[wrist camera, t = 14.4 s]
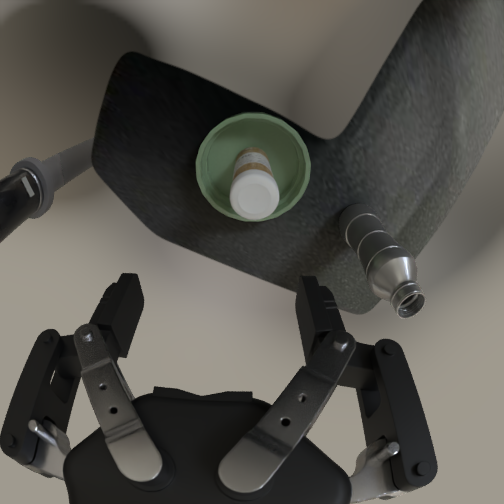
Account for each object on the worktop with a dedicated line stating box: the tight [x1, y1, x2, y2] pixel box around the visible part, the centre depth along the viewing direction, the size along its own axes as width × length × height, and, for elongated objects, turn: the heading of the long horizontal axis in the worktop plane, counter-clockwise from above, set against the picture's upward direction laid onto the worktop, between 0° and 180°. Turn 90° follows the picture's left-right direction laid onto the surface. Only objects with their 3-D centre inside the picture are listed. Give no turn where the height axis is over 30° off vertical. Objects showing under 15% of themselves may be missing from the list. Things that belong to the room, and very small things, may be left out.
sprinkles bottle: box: [230, 147, 279, 220], centre depth 30 cm, size 5×5×13 cm
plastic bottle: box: [339, 203, 426, 319], centre depth 33 cm, size 6×7×20 cm
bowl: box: [196, 112, 311, 221], centre depth 35 cm, size 14×14×4 cm
